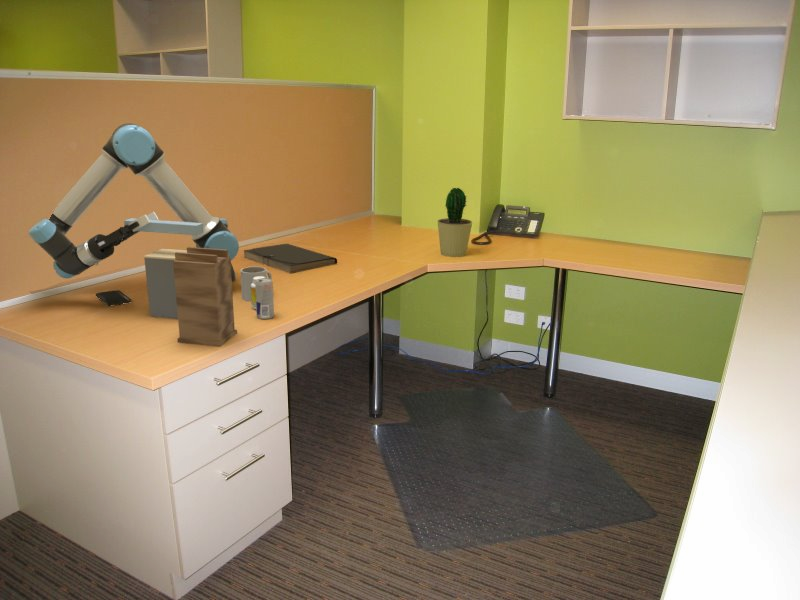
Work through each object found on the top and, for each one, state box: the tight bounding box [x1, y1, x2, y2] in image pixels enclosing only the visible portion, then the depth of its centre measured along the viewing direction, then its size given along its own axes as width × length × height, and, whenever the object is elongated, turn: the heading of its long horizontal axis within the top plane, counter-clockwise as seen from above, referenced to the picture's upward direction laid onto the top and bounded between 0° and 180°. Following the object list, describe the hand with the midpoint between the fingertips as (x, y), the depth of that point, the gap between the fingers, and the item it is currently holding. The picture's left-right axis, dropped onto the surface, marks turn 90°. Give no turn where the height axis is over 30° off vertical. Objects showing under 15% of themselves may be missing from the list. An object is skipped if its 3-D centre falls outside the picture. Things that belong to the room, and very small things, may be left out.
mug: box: [240, 266, 273, 303], centre depth 224 cm, size 12×9×10 cm
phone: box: [95, 289, 132, 307], centre depth 220 cm, size 8×1×15 cm
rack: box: [173, 246, 238, 347], centre depth 184 cm, size 11×13×26 cm
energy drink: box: [255, 277, 275, 320], centre depth 204 cm, size 5×5×12 cm
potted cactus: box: [437, 187, 473, 258], centre depth 286 cm, size 15×15×30 cm
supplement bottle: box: [251, 276, 265, 311], centre depth 213 cm, size 6×6×10 cm
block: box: [143, 248, 187, 320], centre depth 204 cm, size 10×12×20 cm
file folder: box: [243, 243, 338, 274], centre depth 273 cm, size 33×4×24 cm
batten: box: [123, 217, 204, 236], centre depth 199 cm, size 4×24×3 cm, turn 79°
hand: (151, 217), depth 199 cm, fingers closed on batten, 4 cm apart
